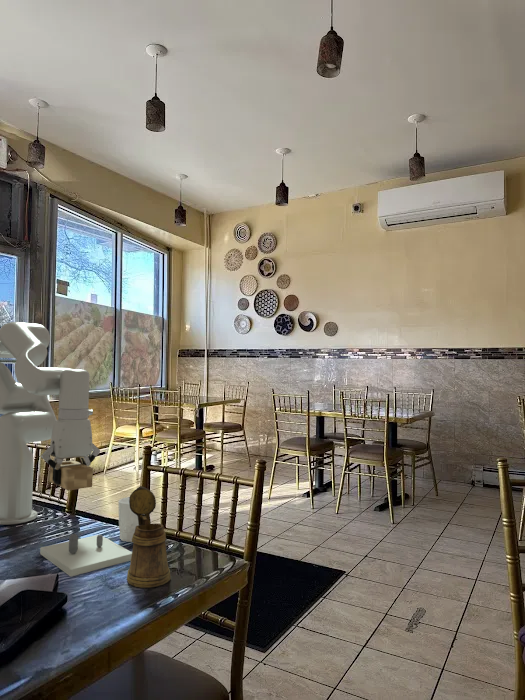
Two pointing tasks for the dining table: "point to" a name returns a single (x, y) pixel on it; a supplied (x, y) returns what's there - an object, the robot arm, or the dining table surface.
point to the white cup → (126, 520)
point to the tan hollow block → (74, 475)
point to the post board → (85, 554)
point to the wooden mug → (147, 544)
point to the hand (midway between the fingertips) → (70, 481)
